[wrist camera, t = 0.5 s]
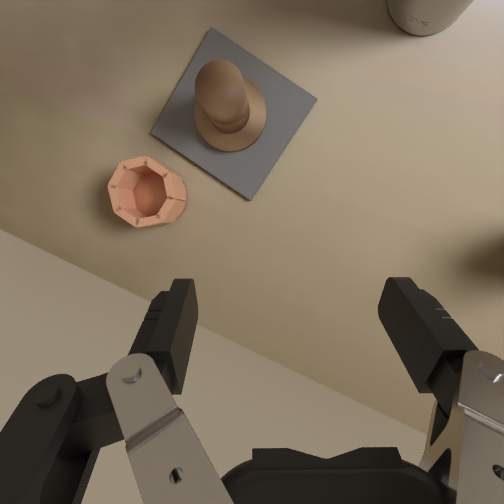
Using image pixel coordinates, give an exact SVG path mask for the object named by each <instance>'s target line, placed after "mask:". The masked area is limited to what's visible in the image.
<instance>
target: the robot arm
mask: <svg viewBox="0 0 504 504" xmlns="http://www.w3.org/2000/svg"><path fill="white" fill-rule="evenodd" d="M473 1H474V0H387V4H388V9H389V12H390V15H391V17H392V19H393V20H394V22H395V23H396V24H397V25H398V26H399V27H400V28H401V29H402V30H404V31H406V32H408V33H410V34H414V35H421V36H427V35H432V34H436V33H438V32H440V31H443V30H444V29H446V28H447V27H449V26H450V25H451V24H452V23H453V22H454V21H455V20H456V19H457V18H458V17H459V16H460V15H461V14H462V13H463V12H464V11H465V10H466V8H467V7H468V6H469V5H470V4H471V3H472V2H473ZM378 315H379V318H380V321H381V323H382V324H383V326H384V328H385V330H386V332H387V334H388V336H389V337H390V339H391V341H392V343H393V345H394V347H395V349H396V351H397V352H398V354H399V356H400V358H401V360H402V362H403V364H404V366H405V367H406V369H407V371H408V373H409V375H410V377H411V379H412V380H413V382H414V384H415V386H416V388H417V390H418V392H419V393H433V394H434V396H435V398H436V400H435V402H434V404H433V409H432V414H431V419H430V424H429V429H428V435H427V440H426V445H425V450H424V453H423V456H422V459H421V461H420V463H419V466H416V465H414V464H412V463H409V462H407V461H404V460H402V459H401V456H400V454H399V451H398V449H397V447H372V448H371V447H367V448H365V447H362V448H358V449H356V450H353V451H350V452H347V453H344V454H341V455H338V456H335V457H332V458H329V459H324V458H320V457H317V456H313V455H310V454H306V453H303V452H299V451H296V450H292V449H289V448H261V449H259V448H257V449H256V448H255V449H252V453H253V454H252V458H253V459H252V460H248V461H246V462H243V463H241V464H239V465H237V466H236V467H234V468H233V469H232V470H230V471H229V472H227V473H226V474H225V475H224V476H223V477H222V478H221V479H220V477H219V475H218V474H217V472H216V470H215V468H214V466H213V464H212V463H211V461H210V459H209V457H208V456H207V453H206V451H205V450H204V448H203V446H202V444H201V442H200V440H199V439H198V437H197V435H196V433H195V431H194V429H193V428H192V426H191V424H190V422H189V420H188V418H187V417H186V415H185V413H184V412H183V410H182V409H179V407H178V406H177V404H176V402H175V400H174V398H173V396H172V395H174V394H181V393H182V388H183V384H184V379H185V375H186V370H187V365H188V361H189V357H190V352H191V348H192V343H193V338H194V333H195V329H196V325H197V320H198V304H197V297H196V291H195V284H194V280H193V279H174V280H173V283H172V285H171V288H170V291H161V292H160V293H159V294H158V295H157V296H156V297H155V298H154V299H153V300H152V302H151V304H150V306H149V309H148V312H147V313H146V315H145V318H144V321H143V322H142V325H141V327H140V329H139V331H138V333H137V336H136V338H135V340H134V343H133V345H132V347H131V349H130V352H129V354H128V356H126V357H124V358H122V359H120V360H119V361H118V362H116V363H115V364H114V365H113V366H112V368H111V369H110V371H109V372H108V373H105V374H103V375H100V376H96V377H93V378H90V379H86V380H83V381H79V382H76V381H75V379H74V378H73V377H72V376H70V375H67V374H57V375H53V376H50V377H48V378H46V379H43V380H42V381H40V382H38V383H37V384H36V385H34V386H33V387H32V388H31V389H30V390H29V391H28V392H27V393H26V394H25V396H24V397H23V398H22V400H21V401H20V403H19V405H18V406H17V407H16V409H15V411H14V412H13V414H12V415H11V417H10V418H9V420H8V422H7V423H6V424H5V426H4V427H3V429H2V431H1V432H0V504H81V502H82V499H83V496H84V494H85V491H86V488H87V485H88V482H89V479H90V476H91V473H92V471H93V468H94V465H95V462H96V459H97V457H98V454H99V451H100V448H101V447H104V446H107V445H110V444H113V443H115V442H118V441H121V440H124V439H125V442H126V451H127V454H128V458H129V461H130V463H131V467H132V470H133V473H134V476H135V479H136V482H137V485H138V488H139V491H140V494H141V497H142V500H143V503H144V504H504V360H502V359H501V358H499V357H497V356H495V355H493V354H491V353H488V352H484V351H479V349H478V348H477V347H476V346H475V345H474V343H473V342H472V341H471V340H470V339H469V337H468V336H467V335H466V334H465V333H464V332H463V330H462V329H461V328H460V327H459V326H458V324H457V323H456V322H455V321H454V320H453V319H451V316H450V315H449V314H448V312H447V311H446V310H444V308H443V306H442V305H441V304H440V303H439V302H438V301H437V299H436V298H435V297H433V296H432V295H430V294H429V293H427V292H426V291H425V290H423V289H419V288H418V287H417V285H416V284H415V283H414V282H413V280H412V279H411V278H409V277H389V278H388V279H387V280H386V283H385V286H384V289H383V292H382V295H381V298H380V301H379V304H378Z"/></svg>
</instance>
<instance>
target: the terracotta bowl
mask: <svg viewBox="0 0 504 504" xmlns="http://www.w3.org/2000/svg"><path fill="white" fill-rule="evenodd" d="M108 185H109V186H108V190H109V194H110V199H111V203H112V207H113V211H114V212H115V214H117V215H118V216H120V217H121V218H123V219H124V220H126V221H127V222H129V223H130V224H132V225H133V226H134V227H137V228H140V227H153V226H158V225H165V224H169V223H173V222H175V220H176V219H177V218H179V216H180V215H181V214H182V213H183V211H184V209H185V206H186V203H187V190H186V186H185V184H184V182H183V180H182V177H181V176H180V175H178V174H177V173H176V172H174V171H173V170H171V169H169V168H168V167H166V166H165V165H163V164H162V163H160V162H158V161H156V160H154V159H152V158H150V157H148V156H143V157H139V158H134V159H130V160H126V161H122V163H120V164H119V166H118V167H117V169H116V171H115V173H114V174H113V176H112V178H111V180H110V182H109V183H108Z"/></svg>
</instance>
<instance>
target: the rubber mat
mask: <svg viewBox="0 0 504 504" xmlns="http://www.w3.org/2000/svg"><path fill="white" fill-rule="evenodd" d="M218 59H221V60H227V61H229V62H231V63H233V64H234V65H235V66H236V67H237V68H238V69H239V70H240V72H241V74H242V76H244V77H246V78H248V79H249V80H251V81H252V82H253V83H254V84H255V85H256V86H257V87H258V88H259V89H260V91H261V93H262V95H263V97H264V100H265V104H266V123H265V127H264V130H263V132H262V134H261V136H260V137H259V138H258V140H257V141H256V142H255V143H254V144H253V145H251V146H250V147H249V148H247V149H245V150H242V151H239V152H223V151H220V150H218V149H216V148H214V147H212V146H211V145H210V144H209V143H208V142H207V141H206V140H205V139H204V138H203V137H202V135H201V134H200V132H199V130H198V128H197V125H196V122H195V104H196V100H197V97H196V94H195V79H196V76H197V74H198V72H199V71H200V69H201V68H202V67H203V66H204V65H205V64H207V63H208V62H210V61H213V60H218ZM316 101H317V98H315V97H314V96H312V95H311V94H310V93H308V92H307V91H305V90H304V89H302V88H301V87H299V86H298V85H296V84H295V83H293V82H292V81H290V80H289V79H287V78H286V77H284V76H283V75H281V74H280V73H278V72H277V71H276V70H274V69H273V68H271V67H270V66H268V65H267V64H265V63H264V62H262V61H261V60H259V59H258V58H256V57H255V56H253V55H252V54H250V53H249V52H247V51H246V50H244V49H243V48H242V47H240V46H239V45H237V44H236V43H234V42H233V41H231V40H230V39H228V38H227V37H225V36H224V35H222V34H221V33H219V32H218V31H216V30H215V29H213V28H212V27H211V28H210V30H209V32H208V33H207V35H206V37H205V39H204V40H203V42H202V44H201V46H200V47H199V49H198V51H197V53H196V54H195V56H194V58H193V60H192V61H191V63H190V65H189V67H188V68H187V70H186V72H185V74H184V75H183V77H182V79H181V81H180V82H179V84H178V86H177V88H176V89H175V91H174V93H173V95H172V96H171V98H170V100H169V102H168V103H167V105H166V107H165V109H164V110H163V112H162V114H161V116H160V117H159V119H158V121H157V123H156V124H155V126H154V128H153V130H152V131H151V133H152V134H153V135H155V136H156V137H158V138H159V139H160V140H162V141H163V142H165V143H166V144H168V145H169V146H171V147H172V148H174V149H175V150H177V151H178V152H180V153H181V154H183V155H184V156H186V157H187V158H189V159H190V160H191V161H193V162H194V163H196V164H197V165H199V166H200V167H202V168H203V169H205V170H206V171H208V172H209V173H211V174H212V175H214V176H215V177H217V178H218V179H220V180H221V181H222V182H224V183H225V184H227V185H228V186H230V187H231V188H233V189H234V190H236V191H237V192H239V193H240V194H242V195H243V196H245V197H246V198H248V199H249V200H252V198H253V197H254V195H255V194H256V192H257V191H258V189H259V188H260V186H261V185H262V183H263V182H264V180H265V179H266V177H267V176H268V174H269V173H270V171H271V169H272V168H273V166H274V165H275V163H276V162H277V160H278V159H279V157H280V156H281V154H282V153H283V151H284V150H285V148H286V147H287V145H288V144H289V142H290V141H291V139H292V137H293V136H294V134H295V133H296V131H297V130H298V128H299V127H300V125H301V124H302V122H303V121H304V119H305V118H306V116H307V115H308V113H309V112H310V110H311V109H312V107H313V105H314V104H315V102H316Z"/></svg>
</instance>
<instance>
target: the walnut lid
mask: <svg viewBox="0 0 504 504" xmlns="http://www.w3.org/2000/svg"><path fill="white" fill-rule="evenodd" d="M195 94H196V97H197V100H196V104H195V122H196V125H197V128H198V130H199V132H200V134H201V135H202V137H203V138H204V139H205V140H206V141H207V142H208V143H209V144H210V145H211V146H212V147H214V148H216V149H218V150H220V151H223V152H239V151H242V150H245V149H247V148H249V147H250V146H251V145H253V144H254V143H255V142H256V141H257V140H258V138H259V137H260V136H261V134H262V132H263V130H264V127H265V123H266V104H265V100H264V97H263V95H262V93H261V91H260V89H259V88H258V87H257V86H256V85H255V84H254V83H253V82H252V81H251V80H249V79H248V78H246V77H244V76H242V74H241V72H240V70H239V69H238V68H237V67H236V66H235V65H234V64H233V63H231V62H229V61H227V60H221V59H218V60H213V61H210V62H208V63H207V64H205V65H204V66H203V67H202V68H201V69H200V71H199V72H198V74H197V76H196V79H195Z"/></svg>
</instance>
